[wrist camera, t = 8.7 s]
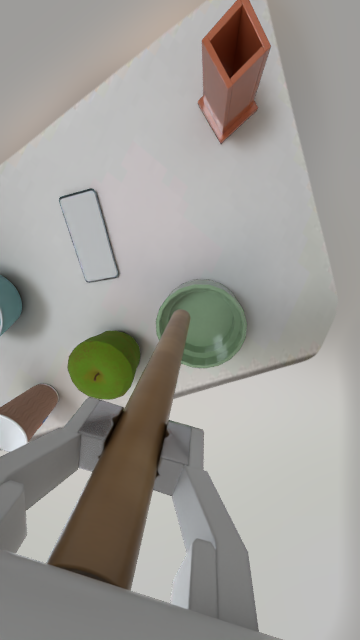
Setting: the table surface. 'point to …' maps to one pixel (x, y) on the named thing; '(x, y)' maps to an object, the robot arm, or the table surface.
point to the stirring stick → (125, 474)
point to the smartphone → (89, 235)
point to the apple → (104, 365)
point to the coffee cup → (25, 415)
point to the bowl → (8, 304)
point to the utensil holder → (232, 68)
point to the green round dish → (206, 322)
